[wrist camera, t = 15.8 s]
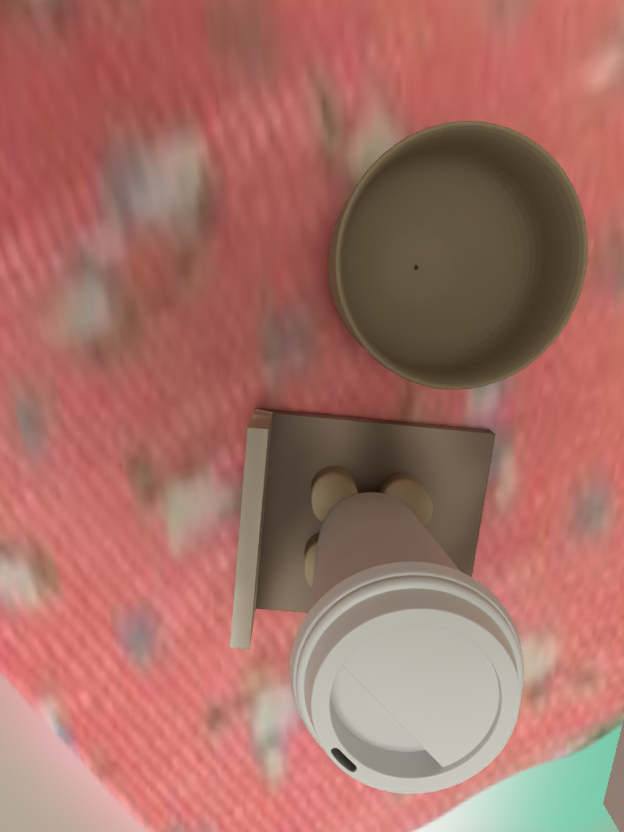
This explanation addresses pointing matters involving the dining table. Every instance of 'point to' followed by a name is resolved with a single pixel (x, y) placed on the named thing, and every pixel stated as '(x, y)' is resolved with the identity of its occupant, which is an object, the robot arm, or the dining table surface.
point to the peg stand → (345, 495)
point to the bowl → (459, 255)
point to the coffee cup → (402, 654)
